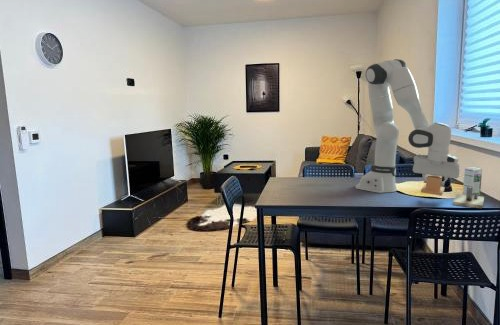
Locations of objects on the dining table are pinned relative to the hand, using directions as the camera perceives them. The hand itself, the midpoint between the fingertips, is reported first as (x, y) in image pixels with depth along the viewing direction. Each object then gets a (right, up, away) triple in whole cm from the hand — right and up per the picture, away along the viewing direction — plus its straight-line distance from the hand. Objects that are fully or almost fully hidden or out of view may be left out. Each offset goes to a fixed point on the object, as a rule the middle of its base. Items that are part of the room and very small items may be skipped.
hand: (433, 184), depth 171 cm
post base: (+18, -9, +1) cm, 20 cm away
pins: (+19, -8, +1) cm, 20 cm away
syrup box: (+28, -7, +15) cm, 32 cm away
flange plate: (0, -3, +1) cm, 4 cm away
